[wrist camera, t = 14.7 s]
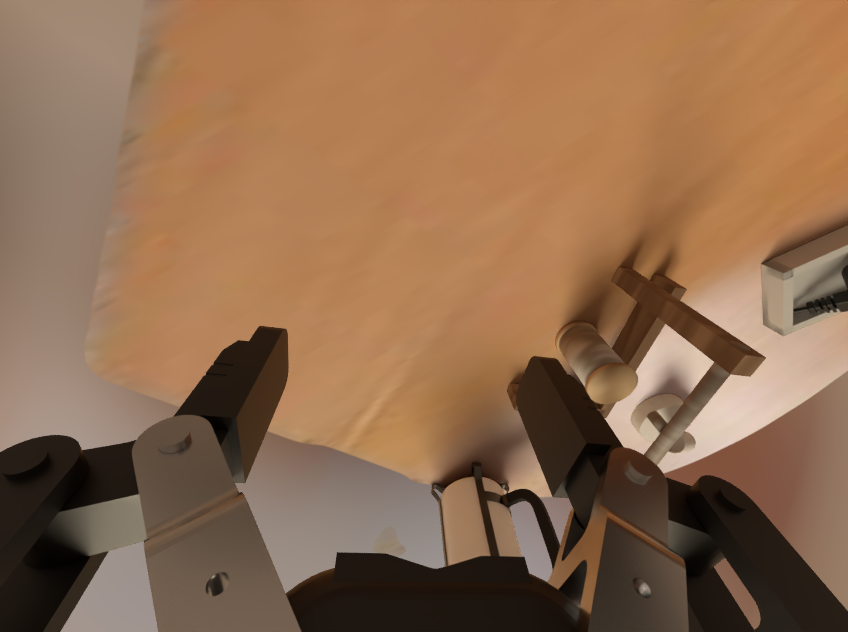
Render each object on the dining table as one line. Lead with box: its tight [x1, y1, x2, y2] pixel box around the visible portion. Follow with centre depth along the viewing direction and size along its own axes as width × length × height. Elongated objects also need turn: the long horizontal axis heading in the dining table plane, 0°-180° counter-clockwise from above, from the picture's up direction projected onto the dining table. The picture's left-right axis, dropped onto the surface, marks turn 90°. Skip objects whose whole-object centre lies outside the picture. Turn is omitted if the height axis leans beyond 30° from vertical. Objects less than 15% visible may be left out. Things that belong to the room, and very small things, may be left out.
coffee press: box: [431, 463, 560, 569], centre depth 52 cm, size 17×16×30 cm
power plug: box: [793, 265, 848, 314], centre depth 44 cm, size 6×8×12 cm
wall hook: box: [631, 394, 696, 453], centre depth 54 cm, size 9×10×10 cm
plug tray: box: [761, 225, 848, 336], centre depth 44 cm, size 17×11×3 cm, turn 120°
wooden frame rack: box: [507, 267, 766, 465], centre depth 41 cm, size 15×22×18 cm, turn 170°
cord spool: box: [555, 321, 638, 404], centre depth 45 cm, size 6×6×10 cm
